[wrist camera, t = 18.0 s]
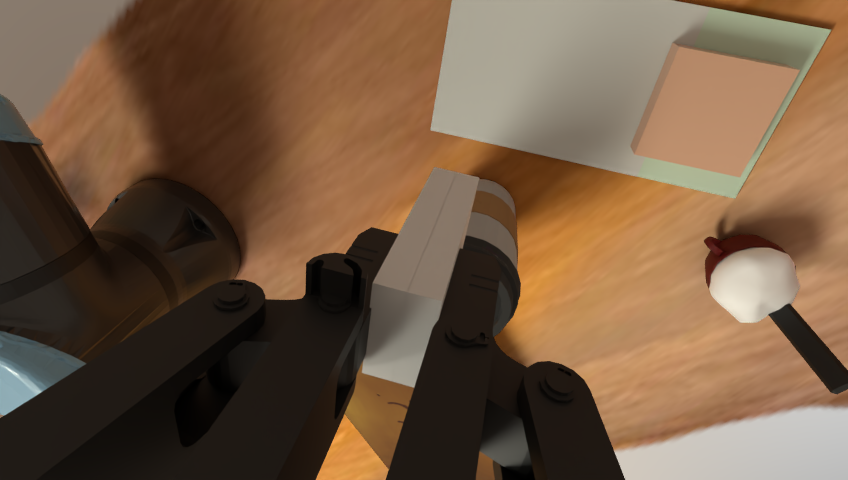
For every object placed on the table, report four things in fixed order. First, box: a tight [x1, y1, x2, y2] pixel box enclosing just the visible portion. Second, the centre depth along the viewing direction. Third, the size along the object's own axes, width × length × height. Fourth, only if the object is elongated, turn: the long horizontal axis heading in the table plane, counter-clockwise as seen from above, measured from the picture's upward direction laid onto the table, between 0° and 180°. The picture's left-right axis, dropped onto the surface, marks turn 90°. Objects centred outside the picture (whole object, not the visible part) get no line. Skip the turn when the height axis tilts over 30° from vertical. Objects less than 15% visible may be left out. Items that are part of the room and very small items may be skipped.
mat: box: [431, 0, 831, 198], centre depth 37 cm, size 26×13×1 cm, turn 81°
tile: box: [630, 43, 800, 177], centre depth 35 cm, size 2×8×8 cm
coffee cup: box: [463, 179, 521, 337], centre depth 38 cm, size 8×8×15 cm
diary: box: [345, 362, 495, 480], centre depth 57 cm, size 23×19×6 cm
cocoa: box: [704, 235, 848, 394], centre depth 37 cm, size 10×6×12 cm, turn 33°
